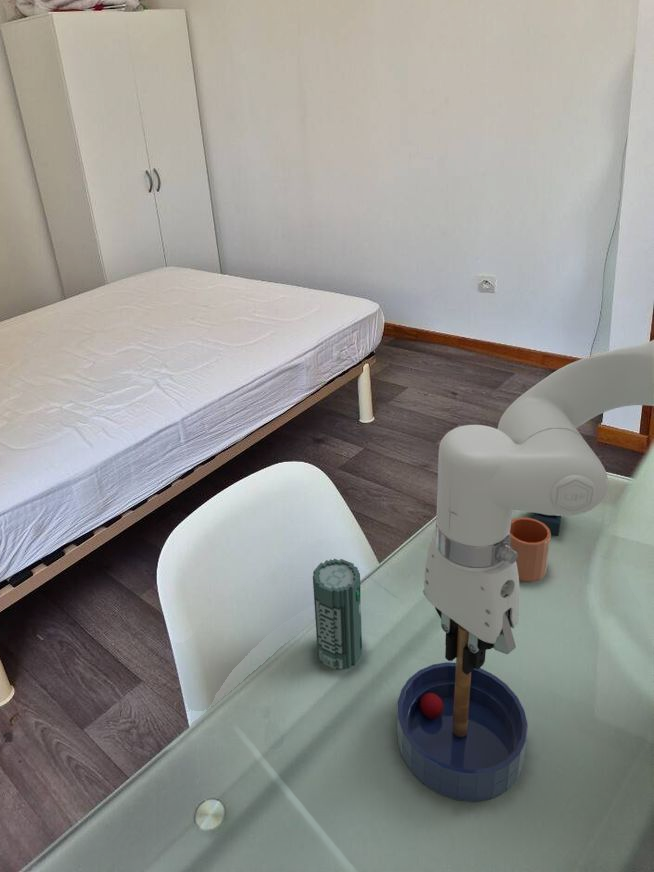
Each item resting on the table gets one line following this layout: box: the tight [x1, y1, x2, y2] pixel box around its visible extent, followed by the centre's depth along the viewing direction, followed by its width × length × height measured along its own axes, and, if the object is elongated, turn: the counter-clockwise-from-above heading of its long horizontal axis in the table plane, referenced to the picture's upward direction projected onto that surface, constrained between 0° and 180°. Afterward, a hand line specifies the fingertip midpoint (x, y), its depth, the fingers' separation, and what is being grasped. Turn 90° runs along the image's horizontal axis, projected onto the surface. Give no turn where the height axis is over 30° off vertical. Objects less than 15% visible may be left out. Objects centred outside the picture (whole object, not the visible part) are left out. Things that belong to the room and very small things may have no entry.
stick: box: [452, 624, 471, 737], centre depth 82 cm, size 2×2×18 cm
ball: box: [420, 693, 443, 719], centre depth 88 cm, size 3×3×3 cm
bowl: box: [396, 661, 529, 803], centre depth 85 cm, size 15×15×6 cm
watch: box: [532, 512, 562, 537], centre depth 119 cm, size 6×8×11 cm
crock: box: [510, 517, 552, 583], centre depth 110 cm, size 7×7×8 cm
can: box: [312, 558, 363, 671], centre depth 96 cm, size 6×6×15 cm
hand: (464, 659), depth 81 cm, fingers closed on stick, 1 cm apart
